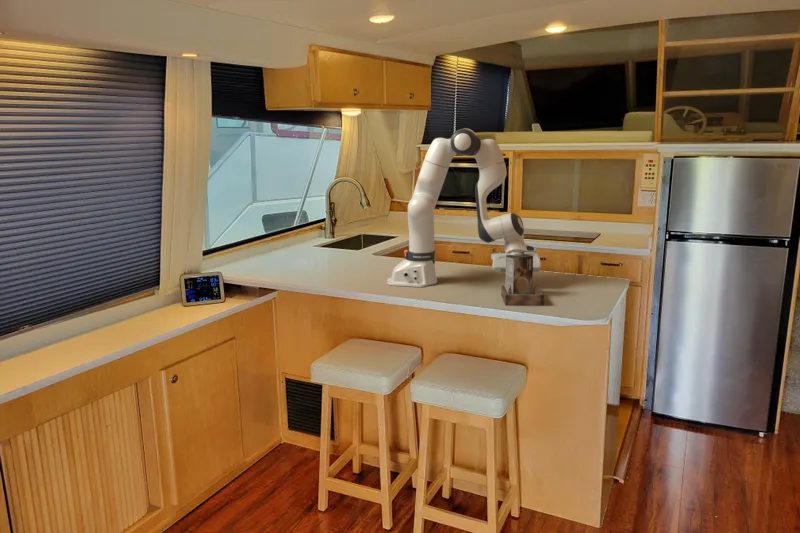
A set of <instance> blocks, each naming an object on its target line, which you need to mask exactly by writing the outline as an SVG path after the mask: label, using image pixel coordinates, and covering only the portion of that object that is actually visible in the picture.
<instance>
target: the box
mask: <svg viewBox="0 0 800 533" xmlns="http://www.w3.org/2000/svg"><path fill="white" fill-rule="evenodd" d="M533 287H534V288H533V289H534V290H533V294H531V295H521V294H508V292H507V290H506V288H505V285H504V284H503V285H501V288H500V295H501V298H502V300H503V304H504V306H526V307H527V306H533V307H534V306H535V307H536V306H540V307H544V305H545V304H544V303H545V295H544V293H543V291H542V290H541V289H540V287H539V286H538V285H534V286H533Z"/></svg>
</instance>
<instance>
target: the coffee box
mask: <svg viewBox="0 0 800 533" xmlns="http://www.w3.org/2000/svg"><path fill="white" fill-rule="evenodd" d="M533 273H534V272H533V256H531V255H528V254H514V255H506V272H505V283H504V284H505V285H504V286H505V288H506V290H507V292H508V294H521V295H533Z"/></svg>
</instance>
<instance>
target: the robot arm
mask: <svg viewBox="0 0 800 533" xmlns="http://www.w3.org/2000/svg"><path fill="white" fill-rule="evenodd" d="M458 155H459V156H461V157H462V156H464V157H465V156H466V157H467V156H473V158H474V159H475V161H476V164H477V169H478V171H479V172H478V173H479V177H478V181H477V182H476V183H475V187H474V193H475V194H474V195H475V205H476V206H475V208H476V218H477V234H478V237H479V239H480V240H482V241H483V242H485V243H487V244H489V243H493V242H495V241H499V240H501V239H503V242H504V244H503V245H504V246H503V247H504V248H503V249H504V251H494V252H492V253H491V254H490V259H491V261H492V265H491V266H492V267H491V270H492V271H493V272H494V273H506V255H514V254H528V255H531V256H533V273H539V272H540V271H541V270H542V261H541V257H540V255H539V253H537V252H538V251H537V247H536V246H532V245H528V244H525V232H524V231H525V230H524V229H525V227H524V222H523V220H522V218H521V217H520V216H519V215H518V214H516V213H514V212H510V213H505V214H501V215H498V216H493V217H488V206H487V197H488V195H489V194H490V193H491V192H492V191H494V190H495V189H497V188H498V187H499V186H500V185H502V184H503V182H504V181H505V180H506V177H507V174H508V172H507V166H506V162H505V159H504V155H503V153H502V151H501V147H500V146H499V144H498V142H497V140H495V139H492V138H485V139H480V138H479V137H478V136H477V134H476V132H475V131H473V130H472V129H470V128H467V127H466V128H465V127H464V128H460V129H457V130H455V131H454V132H453V134H452V135H451V137H450V138H444V137H435V138H434V139H433V140H432V142H431V144H430V145H429V147H428V150H427V151H426V154H425V156H424V159H423V161H422V165H421V168H420V171H419V174H418V177H417V180H416V182H415V183H416V184H415V187H414V190H413V193H412V196H411V199H410V200H409V201H408V204H407V224H408V226H407V227H408V249H405V250H403V251H404V252H403V254H404V255H403V256H404V259H403V260H402V261H400V262H399V263H398V264H397V265H395V266H394V268H393V269H392V273H391V276H390V277H388V278H387V279H386V284H387V285H388V286H397V287H415V288H416V287H417V288H423V287H424V288H425V287H428V286H432V285H436V284H437V283H438V277H437V272H436V264H435V263H436V251H435V222H434V221H435V219H434V217H435V216H434V214H435V213H434V211H435V208H436V205H437V203H438V201H439V200H438V199H439V197H440V194H441V191H442V189H443V185H444V182H445V180H446V177H447V174H448V171H449V168H450V165H451V162H452V160H453V158H454V157H455V156H458Z"/></svg>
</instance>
